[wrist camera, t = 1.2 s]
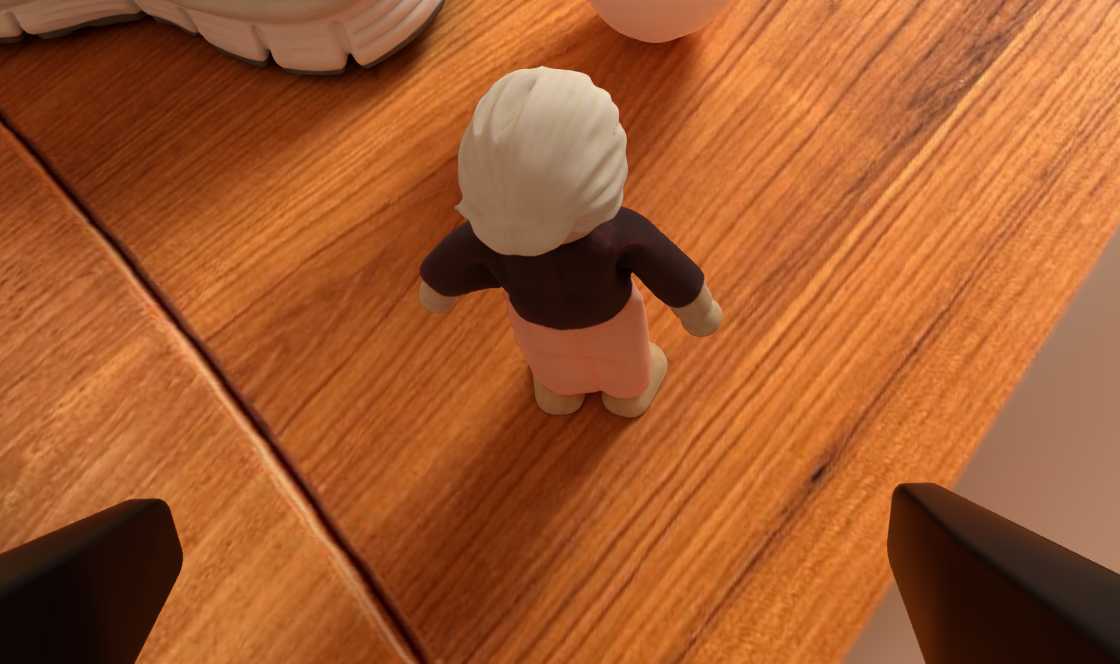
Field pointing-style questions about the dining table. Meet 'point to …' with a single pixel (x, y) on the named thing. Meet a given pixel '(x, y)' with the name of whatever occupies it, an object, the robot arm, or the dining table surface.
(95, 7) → the running shoe
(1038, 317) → the dining table surface
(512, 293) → the grandmother figurine
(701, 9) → the white bulb air blower
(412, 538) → the dining table surface
